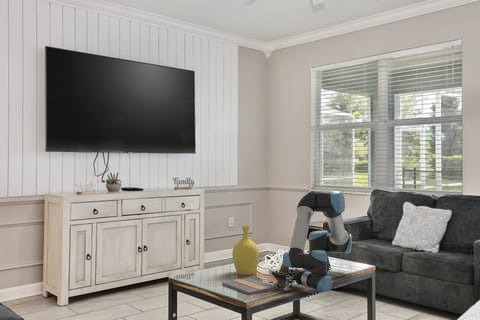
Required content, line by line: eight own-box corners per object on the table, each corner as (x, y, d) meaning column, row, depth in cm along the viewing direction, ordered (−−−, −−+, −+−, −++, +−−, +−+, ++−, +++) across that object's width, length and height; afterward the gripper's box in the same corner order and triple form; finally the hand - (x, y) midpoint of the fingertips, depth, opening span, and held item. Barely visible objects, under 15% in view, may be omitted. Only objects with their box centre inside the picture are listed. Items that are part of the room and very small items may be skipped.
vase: (227, 274, 270) (227, 226, 270) (240, 268, 284) (240, 223, 284) (251, 277, 262) (251, 228, 263) (263, 271, 276) (263, 225, 277)
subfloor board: (248, 279, 256) (248, 277, 256) (276, 288, 237) (276, 286, 237) (222, 284, 246) (222, 282, 246) (249, 294, 226) (249, 291, 226)
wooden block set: (285, 292, 238) (292, 275, 236) (270, 284, 240) (277, 267, 239) (292, 282, 255) (299, 266, 253) (278, 275, 257) (285, 259, 256)
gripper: (290, 289, 227) (261, 280, 245) (320, 282, 240) (290, 274, 258) (289, 274, 227) (261, 266, 245) (320, 268, 240) (290, 261, 258)
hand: (276, 270), depth 251 cm, fingers open, 9 cm apart
